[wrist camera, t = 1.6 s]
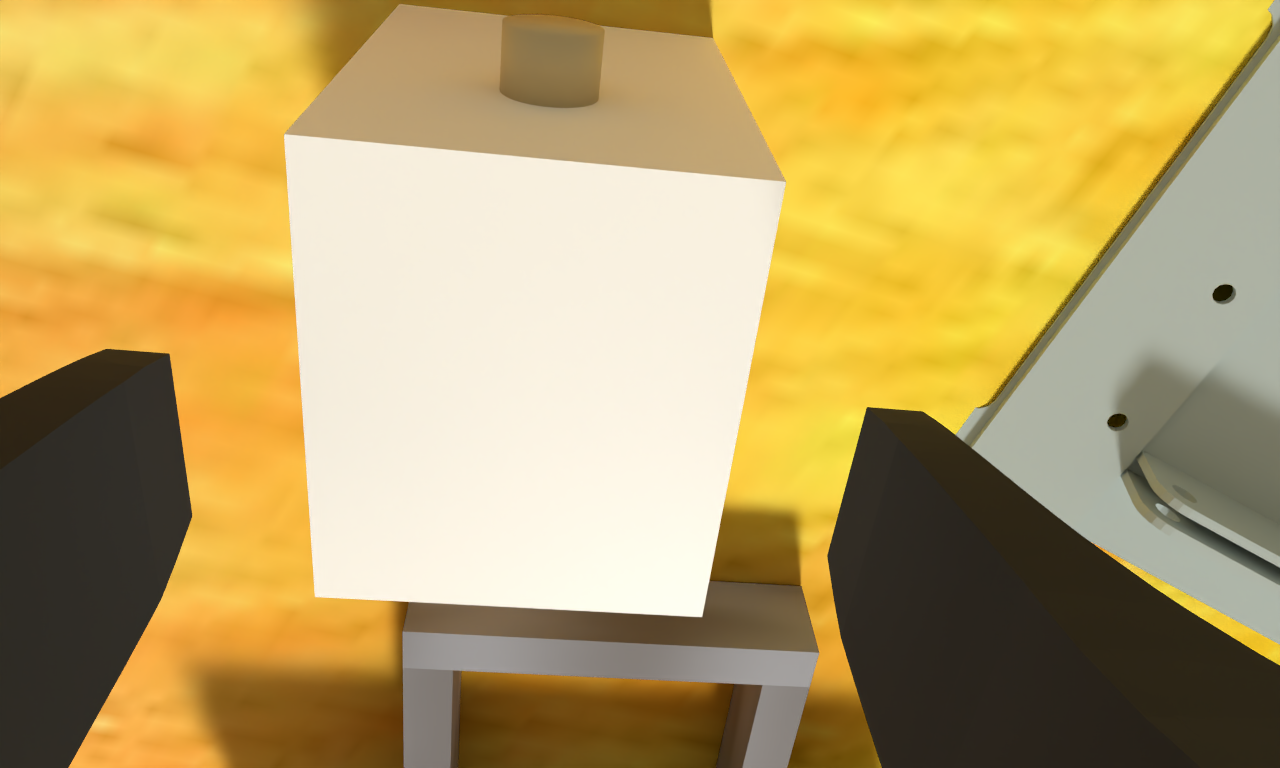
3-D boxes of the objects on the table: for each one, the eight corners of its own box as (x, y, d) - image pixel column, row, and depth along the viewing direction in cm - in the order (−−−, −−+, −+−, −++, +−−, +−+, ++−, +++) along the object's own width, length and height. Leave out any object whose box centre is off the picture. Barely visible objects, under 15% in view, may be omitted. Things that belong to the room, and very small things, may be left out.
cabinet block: (402, 339, 19) (315, 596, 13) (399, -52, 15) (278, 49, 9) (666, 359, 19) (702, 617, 13) (720, -15, 16) (800, 104, 10)
